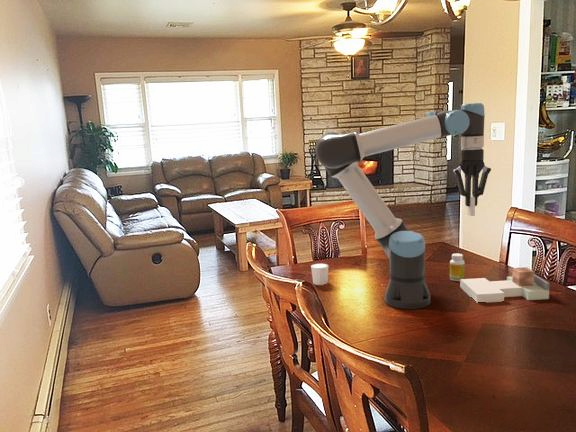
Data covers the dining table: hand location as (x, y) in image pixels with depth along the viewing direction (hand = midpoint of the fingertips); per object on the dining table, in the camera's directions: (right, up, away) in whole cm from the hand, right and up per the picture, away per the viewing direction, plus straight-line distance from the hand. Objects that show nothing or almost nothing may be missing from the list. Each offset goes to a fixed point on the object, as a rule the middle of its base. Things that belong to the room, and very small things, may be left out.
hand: (471, 215), depth 178 cm
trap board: (+10, -27, -4) cm, 29 cm away
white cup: (-53, -27, +18) cm, 62 cm away
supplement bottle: (-1, -25, +13) cm, 28 cm away
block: (+16, -24, -4) cm, 29 cm away
